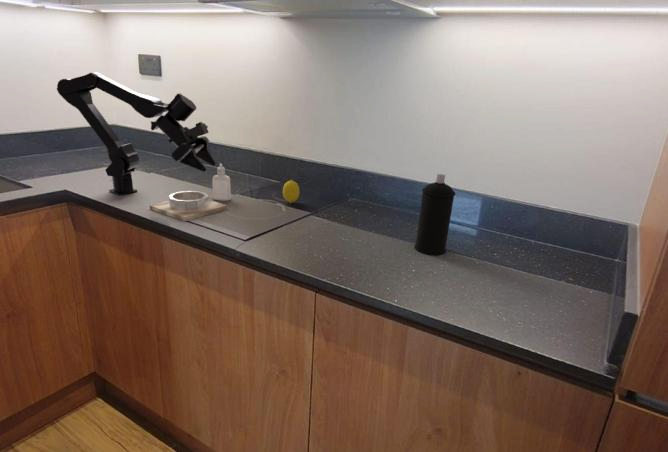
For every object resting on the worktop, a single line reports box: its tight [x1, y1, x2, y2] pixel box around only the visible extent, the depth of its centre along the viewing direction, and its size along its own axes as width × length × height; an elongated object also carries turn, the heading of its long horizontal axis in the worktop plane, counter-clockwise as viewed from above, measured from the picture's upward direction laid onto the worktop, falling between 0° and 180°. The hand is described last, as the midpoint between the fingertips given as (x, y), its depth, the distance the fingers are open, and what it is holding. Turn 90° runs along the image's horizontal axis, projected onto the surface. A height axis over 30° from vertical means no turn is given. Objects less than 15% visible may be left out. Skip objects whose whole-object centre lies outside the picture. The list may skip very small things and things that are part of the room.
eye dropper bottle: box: [211, 163, 232, 202], centre depth 140 cm, size 4×6×12 cm
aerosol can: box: [414, 173, 456, 256], centre depth 108 cm, size 8×8×20 cm
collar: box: [168, 190, 209, 211], centre depth 129 cm, size 11×11×3 cm
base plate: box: [149, 199, 228, 222], centre depth 130 cm, size 16×16×1 cm
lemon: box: [282, 179, 300, 204], centre depth 141 cm, size 6×6×8 cm
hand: (210, 167), depth 139 cm, fingers open, 9 cm apart
